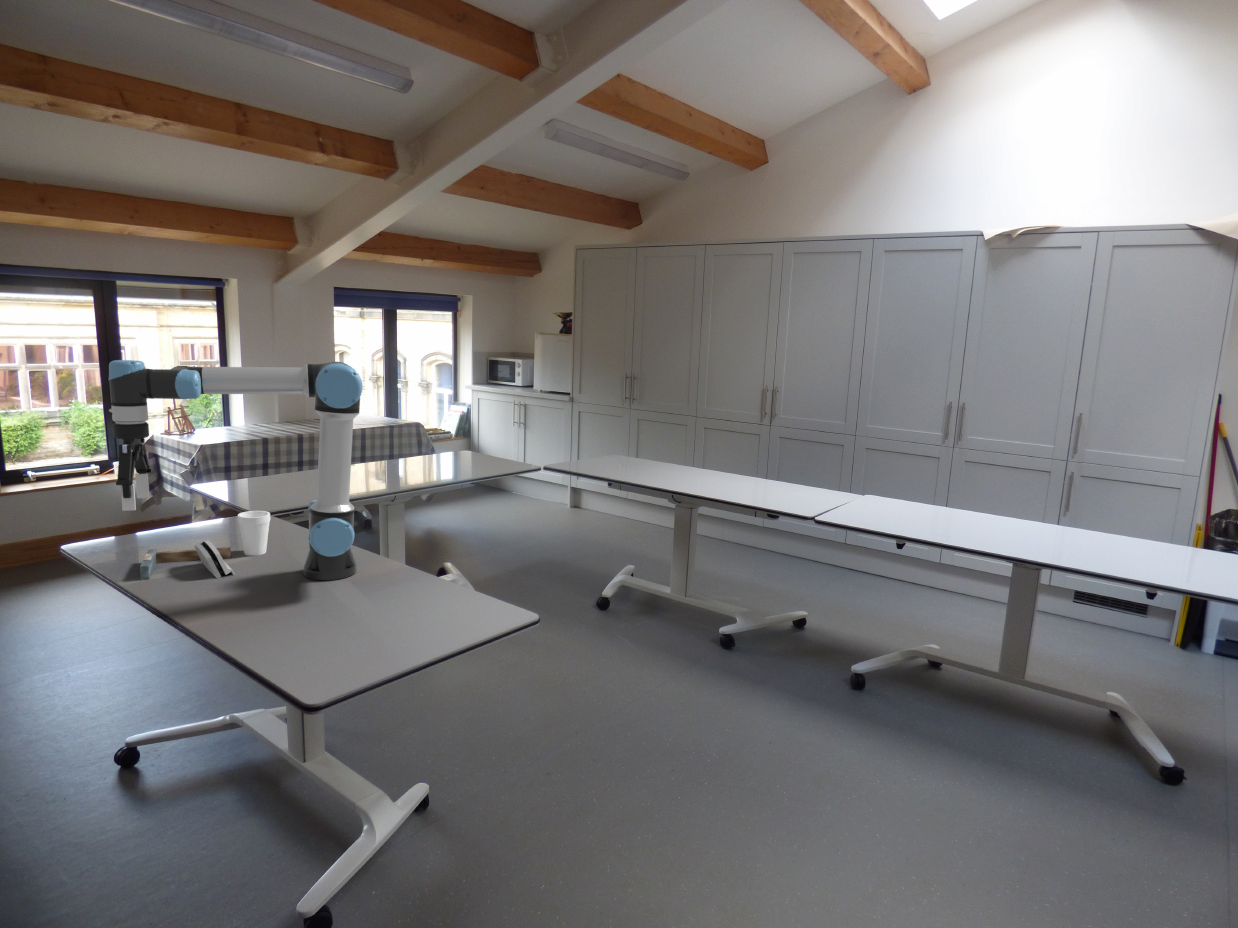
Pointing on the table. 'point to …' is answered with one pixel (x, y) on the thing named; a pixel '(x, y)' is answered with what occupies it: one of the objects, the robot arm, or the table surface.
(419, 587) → the table surface
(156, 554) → the wooden handled mallet
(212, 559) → the white piece
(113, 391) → the robot arm
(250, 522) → the foam cup
